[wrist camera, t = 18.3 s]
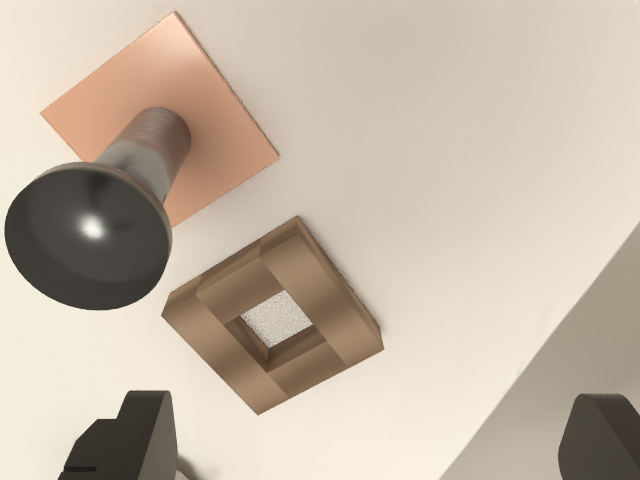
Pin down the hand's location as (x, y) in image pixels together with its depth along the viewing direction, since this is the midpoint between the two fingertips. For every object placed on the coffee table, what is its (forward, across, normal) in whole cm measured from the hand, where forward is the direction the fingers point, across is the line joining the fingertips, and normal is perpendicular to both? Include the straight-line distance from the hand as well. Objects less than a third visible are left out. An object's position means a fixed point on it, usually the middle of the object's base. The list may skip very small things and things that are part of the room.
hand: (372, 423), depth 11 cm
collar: (+28, +3, +17) cm, 33 cm away
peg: (+27, +11, +2) cm, 29 cm away
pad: (+28, +10, +2) cm, 30 cm away
